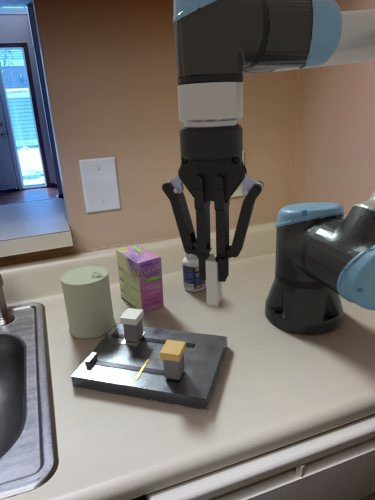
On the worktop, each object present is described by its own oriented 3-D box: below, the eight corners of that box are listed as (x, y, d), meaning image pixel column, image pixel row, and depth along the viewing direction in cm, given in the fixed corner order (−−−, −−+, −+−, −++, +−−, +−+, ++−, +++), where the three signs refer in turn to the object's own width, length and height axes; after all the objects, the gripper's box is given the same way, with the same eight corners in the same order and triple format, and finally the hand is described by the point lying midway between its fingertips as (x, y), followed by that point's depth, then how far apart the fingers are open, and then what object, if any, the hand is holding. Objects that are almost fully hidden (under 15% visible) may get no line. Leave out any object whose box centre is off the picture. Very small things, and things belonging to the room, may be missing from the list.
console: (227, 346, 70) (227, 331, 69) (206, 409, 55) (206, 393, 54) (117, 331, 76) (115, 318, 75) (72, 386, 61) (70, 370, 60)
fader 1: (145, 332, 71) (143, 309, 69) (138, 343, 68) (135, 319, 66) (130, 330, 72) (127, 308, 70) (122, 340, 69) (119, 317, 67)
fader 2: (187, 367, 61) (185, 341, 59) (180, 381, 58) (179, 355, 56) (169, 365, 62) (167, 339, 60) (162, 378, 59) (159, 352, 57)
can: (104, 340, 73) (96, 283, 69) (60, 337, 75) (49, 281, 71) (121, 315, 82) (115, 263, 77) (81, 313, 83) (73, 262, 79)
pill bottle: (198, 294, 89) (197, 255, 86) (179, 289, 92) (177, 251, 88) (210, 285, 93) (209, 247, 90) (191, 280, 96) (189, 244, 93)
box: (165, 305, 85) (161, 256, 81) (142, 314, 82) (137, 263, 78) (142, 289, 93) (137, 243, 89) (120, 296, 90) (115, 249, 86)
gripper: (270, 120, 47) (265, 293, 55) (170, 123, 51) (179, 284, 59) (261, 124, 40) (257, 320, 48) (147, 127, 44) (161, 307, 52)
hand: (214, 300), depth 54 cm, fingers closed
